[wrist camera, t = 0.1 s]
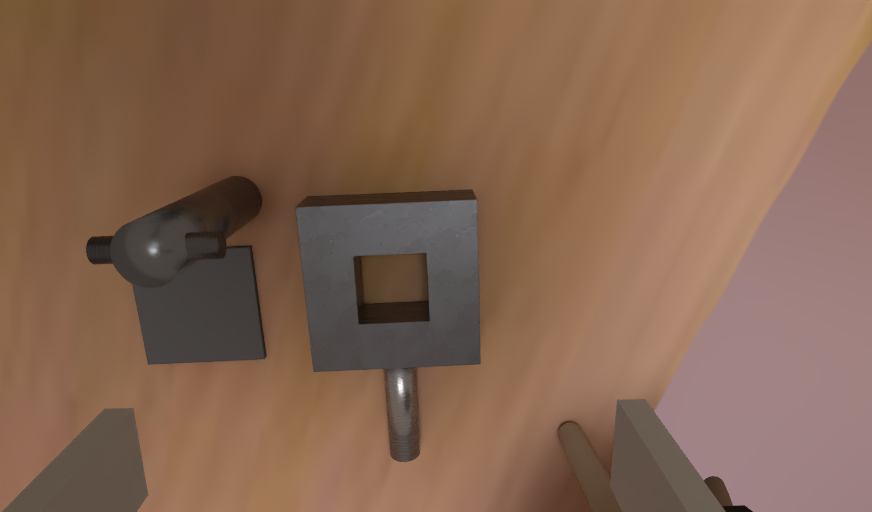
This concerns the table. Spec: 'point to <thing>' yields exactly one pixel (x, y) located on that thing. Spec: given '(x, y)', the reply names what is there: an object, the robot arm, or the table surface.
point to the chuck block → (392, 322)
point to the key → (178, 233)
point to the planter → (597, 478)
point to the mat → (204, 313)
